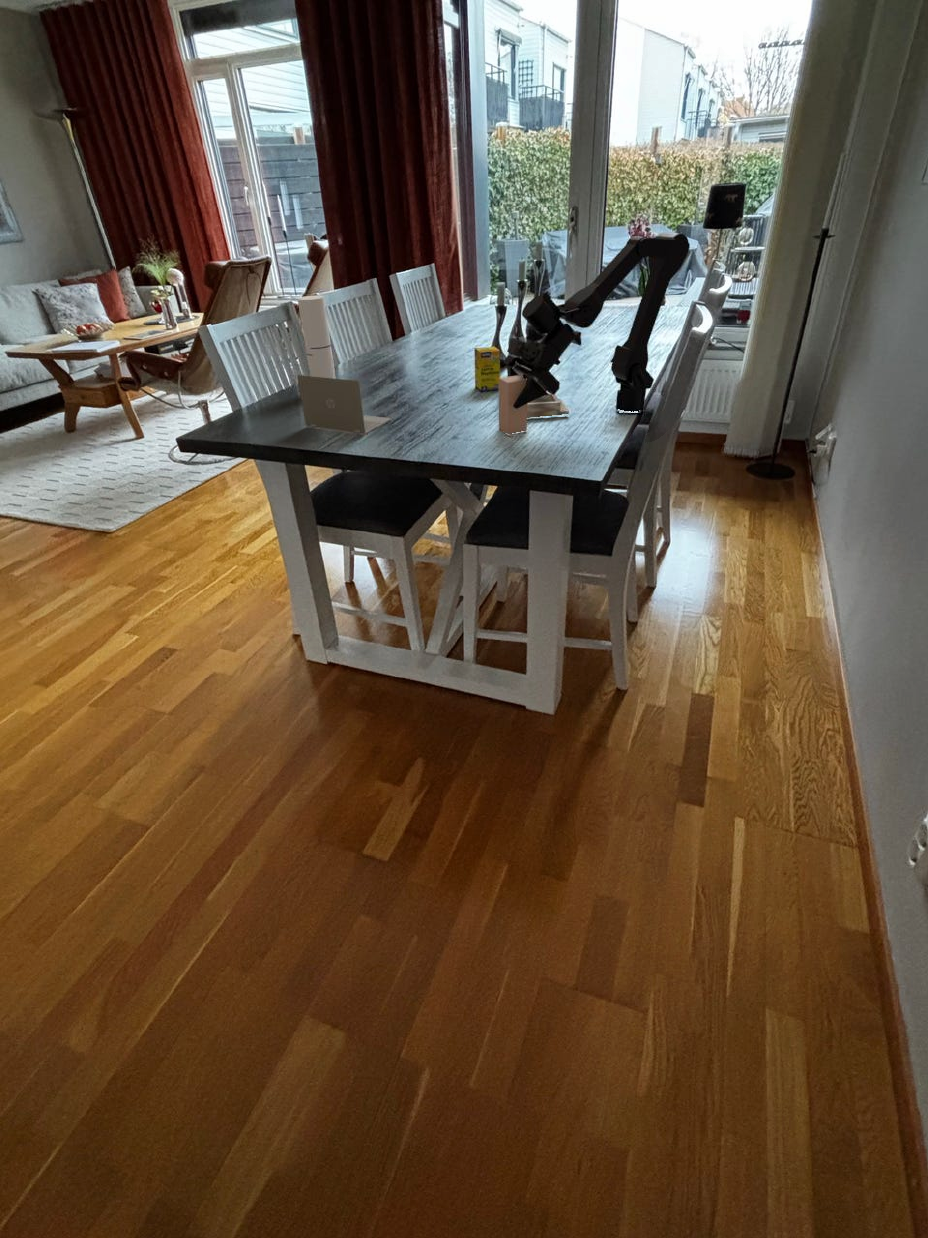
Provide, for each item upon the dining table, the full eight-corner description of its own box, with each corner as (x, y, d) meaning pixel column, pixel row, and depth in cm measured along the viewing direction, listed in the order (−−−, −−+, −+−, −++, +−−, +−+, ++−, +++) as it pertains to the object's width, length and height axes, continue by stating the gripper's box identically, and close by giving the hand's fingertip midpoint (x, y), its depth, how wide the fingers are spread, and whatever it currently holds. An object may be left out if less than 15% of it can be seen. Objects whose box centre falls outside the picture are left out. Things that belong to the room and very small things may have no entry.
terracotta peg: (517, 426, 156) (518, 375, 149) (526, 431, 152) (527, 380, 145) (498, 429, 155) (498, 377, 148) (507, 435, 151) (507, 382, 144)
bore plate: (560, 404, 169) (560, 390, 167) (568, 417, 160) (569, 402, 158) (511, 407, 169) (511, 393, 167) (517, 420, 160) (517, 405, 158)
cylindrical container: (332, 394, 185) (317, 299, 171) (309, 394, 187) (293, 299, 172) (340, 387, 191) (327, 295, 177) (318, 387, 192) (303, 295, 178)
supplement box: (480, 392, 181) (479, 352, 175) (474, 387, 186) (473, 347, 180) (500, 390, 183) (500, 350, 176) (494, 385, 187) (493, 345, 181)
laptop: (392, 421, 164) (386, 368, 156) (365, 436, 154) (358, 381, 147) (335, 414, 170) (327, 363, 163) (305, 428, 161) (296, 375, 154)
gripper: (511, 317, 148) (469, 372, 151) (549, 330, 134) (502, 391, 137) (540, 349, 155) (499, 401, 158) (579, 365, 141) (533, 422, 144)
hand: (507, 403), depth 149 cm, fingers open, 7 cm apart
